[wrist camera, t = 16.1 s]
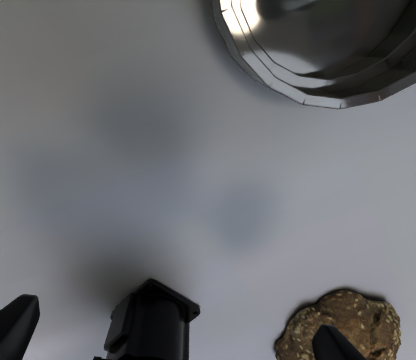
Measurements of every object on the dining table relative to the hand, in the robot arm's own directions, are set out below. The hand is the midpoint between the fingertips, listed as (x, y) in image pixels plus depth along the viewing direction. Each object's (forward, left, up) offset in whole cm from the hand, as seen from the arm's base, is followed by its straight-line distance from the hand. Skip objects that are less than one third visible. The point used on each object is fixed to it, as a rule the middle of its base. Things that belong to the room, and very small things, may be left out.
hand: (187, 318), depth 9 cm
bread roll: (-25, +4, -13) cm, 29 cm away
